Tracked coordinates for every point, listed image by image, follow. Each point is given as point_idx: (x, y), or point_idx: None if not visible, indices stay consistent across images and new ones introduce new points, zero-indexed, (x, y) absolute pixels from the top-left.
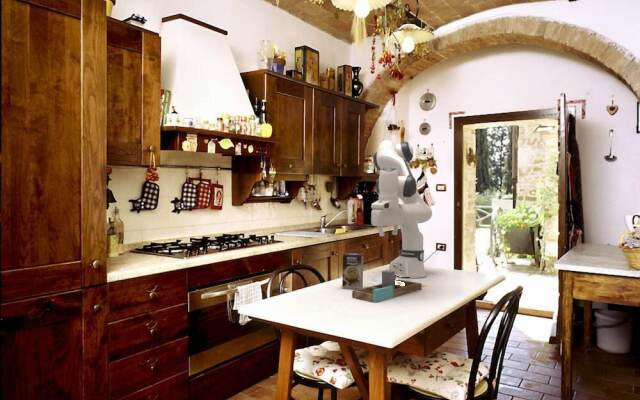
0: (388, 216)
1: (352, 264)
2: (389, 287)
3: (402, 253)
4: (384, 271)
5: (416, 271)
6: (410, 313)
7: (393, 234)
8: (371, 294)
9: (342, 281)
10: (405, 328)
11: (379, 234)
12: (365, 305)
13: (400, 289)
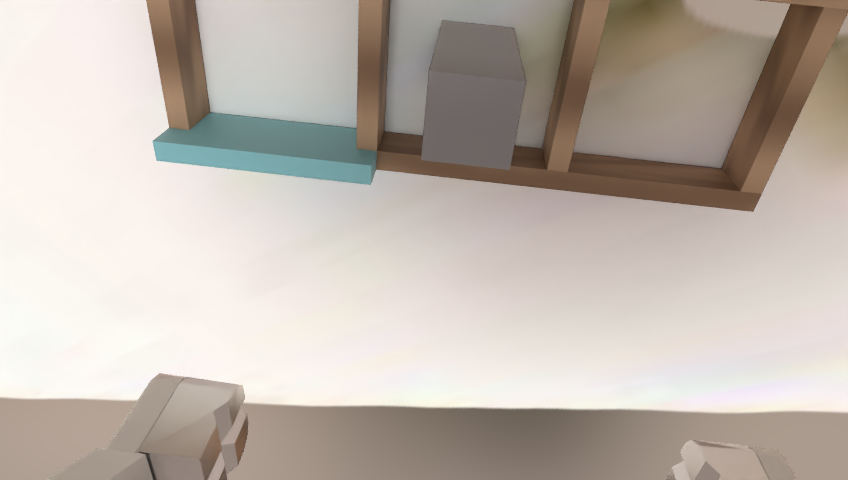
0: None
1: None
2: (325, 177)
3: None
4: (432, 99)
5: None
6: (187, 338)
7: (684, 461)
8: (171, 112)
9: None
10: (25, 388)
11: (142, 396)
12: (101, 115)
13: (467, 177)
